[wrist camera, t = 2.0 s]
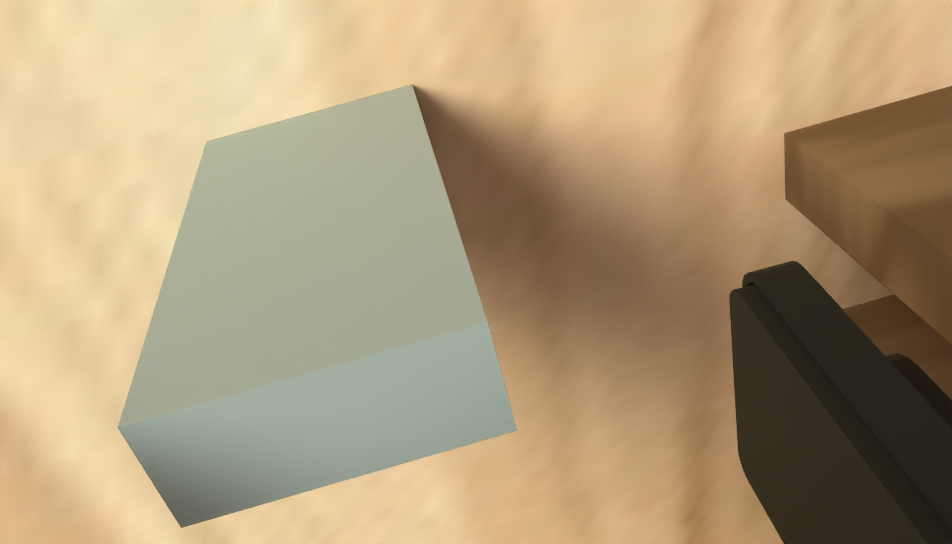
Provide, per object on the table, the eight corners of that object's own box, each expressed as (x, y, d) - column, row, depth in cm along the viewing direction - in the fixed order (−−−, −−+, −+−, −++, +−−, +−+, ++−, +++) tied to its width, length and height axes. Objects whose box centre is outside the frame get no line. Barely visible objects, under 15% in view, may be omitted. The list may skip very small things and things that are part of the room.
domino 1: (433, 160, 20) (516, 430, 12) (238, 214, 20) (180, 527, 12) (412, 84, 19) (487, 322, 11) (206, 142, 19) (117, 427, 11)
